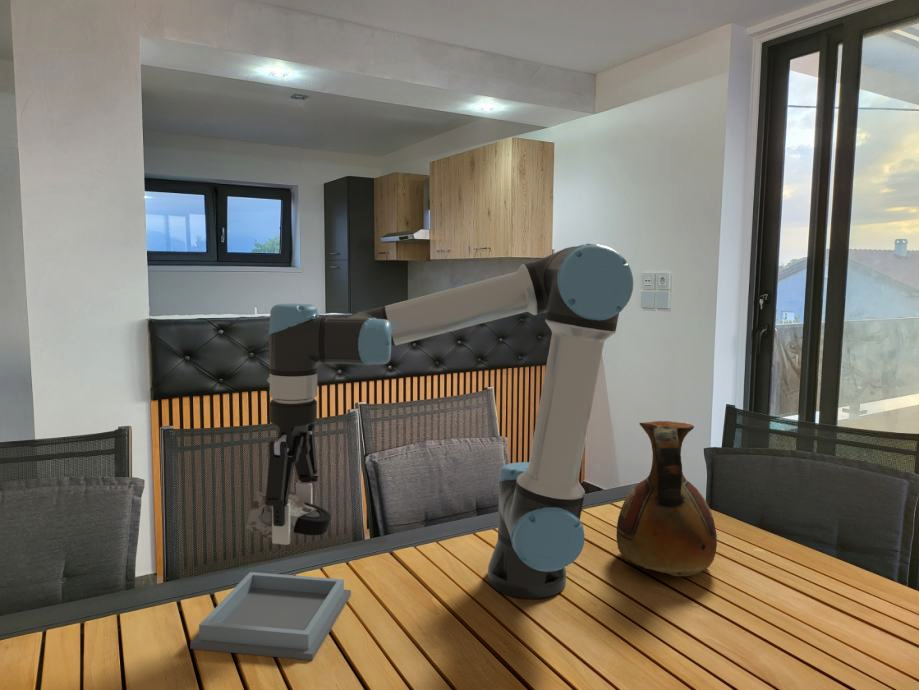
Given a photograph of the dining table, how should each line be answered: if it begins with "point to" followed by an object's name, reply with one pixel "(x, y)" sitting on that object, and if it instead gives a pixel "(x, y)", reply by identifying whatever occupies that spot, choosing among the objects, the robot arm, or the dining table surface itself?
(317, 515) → the caster wheel
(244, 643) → the tray
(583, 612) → the dining table surface
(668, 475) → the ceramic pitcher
